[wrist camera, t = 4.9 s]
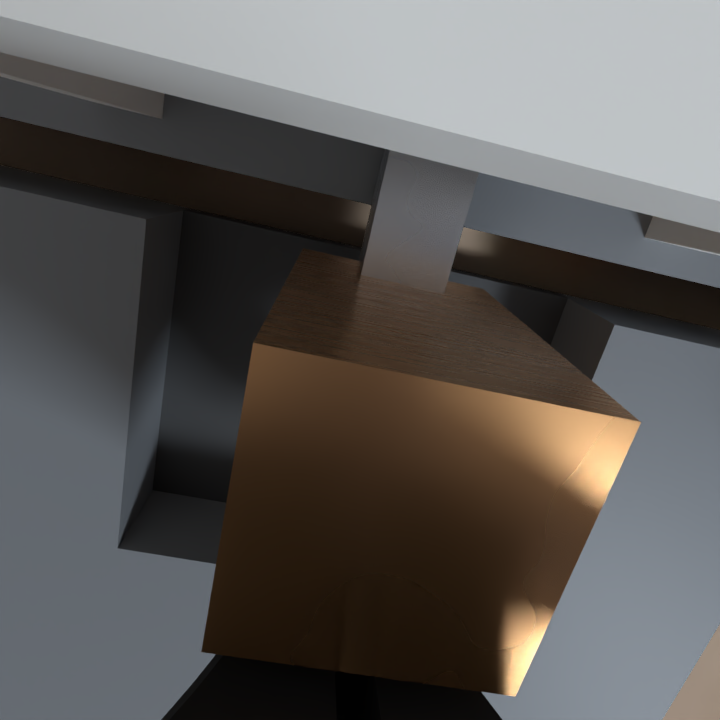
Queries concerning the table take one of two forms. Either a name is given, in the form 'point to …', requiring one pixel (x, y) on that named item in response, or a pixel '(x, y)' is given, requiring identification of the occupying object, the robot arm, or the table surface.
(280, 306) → the slider
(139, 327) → the grey slotted board
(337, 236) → the table surface
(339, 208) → the table surface
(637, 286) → the table surface
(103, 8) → the tunnel
